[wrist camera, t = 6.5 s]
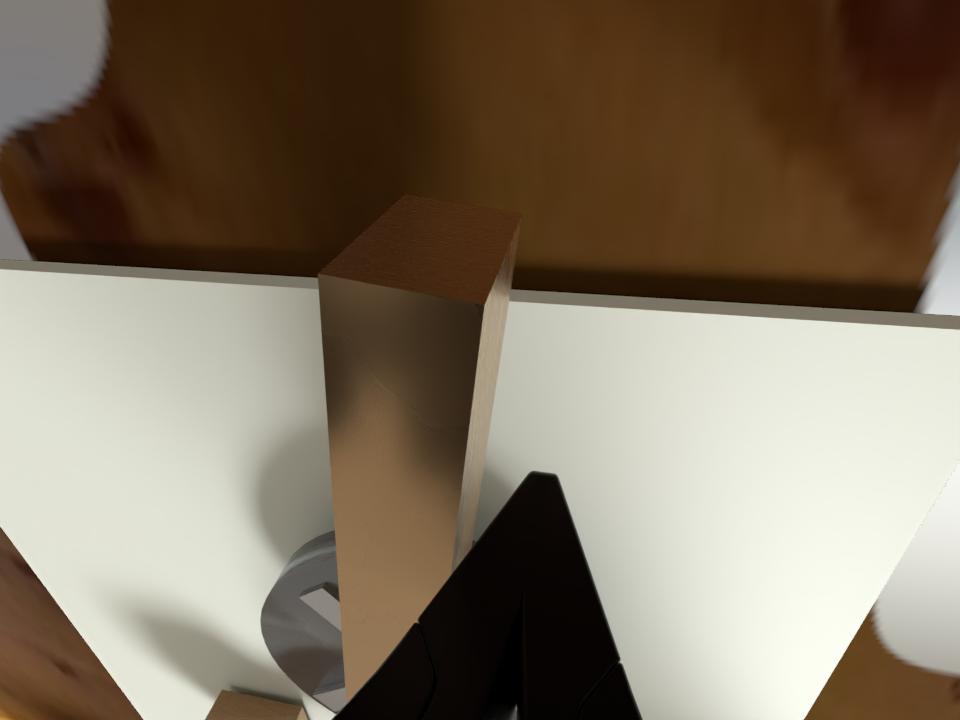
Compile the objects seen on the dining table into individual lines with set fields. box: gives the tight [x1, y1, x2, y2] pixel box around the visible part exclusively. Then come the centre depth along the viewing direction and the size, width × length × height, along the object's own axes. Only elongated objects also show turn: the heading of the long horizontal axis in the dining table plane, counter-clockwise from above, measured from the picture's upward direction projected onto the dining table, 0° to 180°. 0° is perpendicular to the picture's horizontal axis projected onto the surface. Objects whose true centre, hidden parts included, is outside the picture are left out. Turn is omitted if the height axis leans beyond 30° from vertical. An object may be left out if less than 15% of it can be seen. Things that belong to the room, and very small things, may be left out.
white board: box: [0, 259, 960, 720], centre depth 20 cm, size 30×27×2 cm
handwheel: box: [260, 194, 522, 720], centre depth 13 cm, size 16×16×4 cm
